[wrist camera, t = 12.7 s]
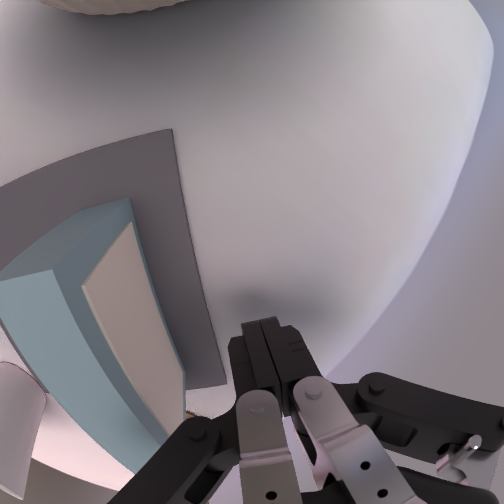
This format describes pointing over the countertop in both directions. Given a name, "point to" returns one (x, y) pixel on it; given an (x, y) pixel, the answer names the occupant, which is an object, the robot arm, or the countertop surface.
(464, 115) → the countertop surface
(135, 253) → the card box
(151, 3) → the canister
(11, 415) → the mug
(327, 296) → the countertop surface
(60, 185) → the mat
